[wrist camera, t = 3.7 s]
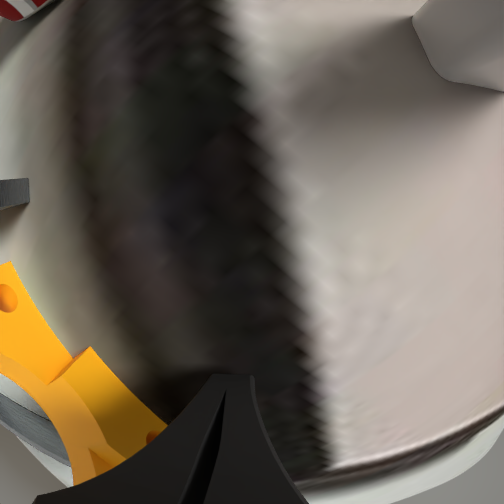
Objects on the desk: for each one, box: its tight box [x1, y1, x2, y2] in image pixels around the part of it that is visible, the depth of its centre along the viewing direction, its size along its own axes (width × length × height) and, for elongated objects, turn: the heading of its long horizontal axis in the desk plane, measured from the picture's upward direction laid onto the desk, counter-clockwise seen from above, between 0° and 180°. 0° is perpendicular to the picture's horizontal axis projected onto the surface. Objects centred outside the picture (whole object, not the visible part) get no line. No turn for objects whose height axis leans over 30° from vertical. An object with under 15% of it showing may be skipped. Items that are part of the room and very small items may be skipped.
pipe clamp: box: [0, 261, 168, 486], centre depth 7 cm, size 12×4×6 cm, turn 35°
